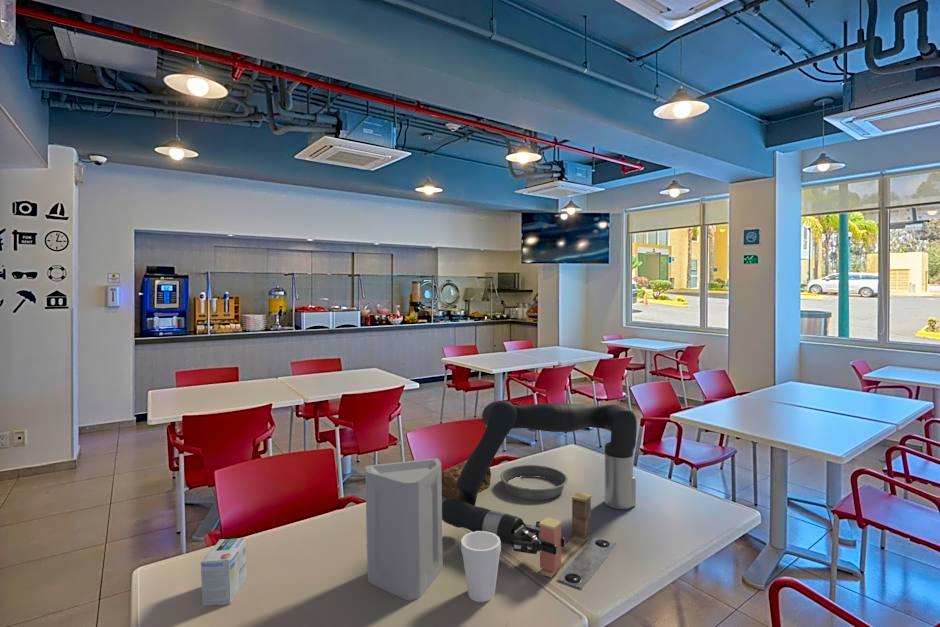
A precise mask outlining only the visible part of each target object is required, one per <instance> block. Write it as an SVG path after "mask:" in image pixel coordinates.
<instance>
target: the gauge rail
mask: <svg viewBox="0 0 940 627" xmlns="http://www.w3.org/2000/svg"><path fill="white" fill-rule="evenodd" d="M591 498H592V494H589V493H585V492H584V493H583V492H579V491H577V492H575V493H574V494H573V495H572V496H571V500H572V502H571V504H572V505H571V511H572V512H571V514H572V515H571V517H572V518H571V521H572V522H571V524H572V526H571V528H572V529H571V530H572V531H571V532H572V533H571V534H572V535H571V536H572V538H570V540H569V541H568V542H567V543H565V546H564V547H561V566H562V565H563V566H564V565H566V563H567V562H568V561H569V560H570V559H571V558H572V557H573V556H574V555H575V553H576V552H577V551H578V550H579V549H580V548H581V547H582V546H583V545H584V544H585V543H586V542H585V541H588V539H590V535H591V534H592V533H591V532H592V529H591V527H592V520H591V519H592V513H591V512H592V509H591V508H592V507H591V506H592V501H591V500H592V499H591ZM584 542H585V543H584ZM573 554H574V555H573ZM572 555H573V556H572ZM571 556H572V557H571ZM570 557H571V558H570ZM569 558H570V559H569ZM568 559H569V560H568ZM561 566H560V567H559V568H558V569H557V570H556V571H555V572H552V571H549V570H546V569H543V568H541V569H540V575H541V574H543V575H542V576H544V575H546V576H549V577H551V578H550V579H553V577H554V576H555V575H556V574H557V573H558V572H559V571H560V570H561V569H562V568H561ZM563 566H562V567H563ZM560 568H561V569H560ZM559 569H560V570H559ZM558 570H559V571H558ZM557 571H558V572H557ZM556 572H557V573H556ZM555 573H556V574H555ZM554 574H555V575H554ZM553 575H554V576H553ZM546 576H545V577H546ZM552 576H553V577H552ZM549 577H548V578H549Z"/></svg>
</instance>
